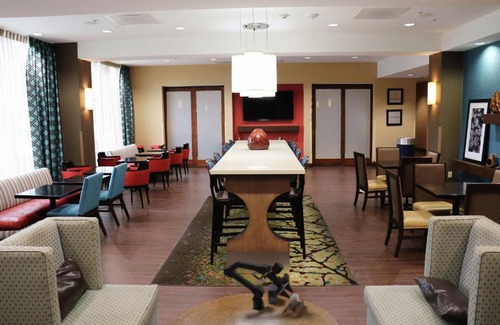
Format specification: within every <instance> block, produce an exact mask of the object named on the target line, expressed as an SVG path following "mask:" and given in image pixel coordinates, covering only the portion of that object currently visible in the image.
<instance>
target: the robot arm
mask: <svg viewBox="0 0 500 325" xmlns="http://www.w3.org/2000/svg"><path fill="white" fill-rule="evenodd" d="M237 269H243V270H249V271H254V272H256V273H258V274H259V275H263V280H266V279H268V280H269V281H270V283H272V285H275V286H276V287H277V290H276V291H275V294H276V295H278V296H281V297H285V298H286V299H290V295H289V294H288V292H290V293H291V294H295V291H294V290H293V288H292V286H291V284H290V283H291V281H290V279H291V278H290V274H288V273H287V272H284V273H283V275H282V276H281V275H280V273H281V272H282V271H283V270H284V269H285V266H284V265H283V264H282V263H280V262H278V261H275V263H274V264H273V265H268V264H266V263H251V262H246V261H242V260H236V261H235V262H234V263H232V264H230V265H227V266H225V268H224V269H223V275H224V276H225V277H228V278H230V279H233V280H235V281H237V282H238V283H239V284H240V285H242V286H243V287H245V288H246V289H248V290H249V291H250V292H251V294H252V295H253V296H252V298H251V300H252V306H253V307H252V310H256V311H257V310H259V311H260V310H262V309H263V308H264V307H265V303H264V301H265V300H264V299H263V297H264V295H265V288H264V287H263V286H261V284H259V283H257V285H256V284H254V283H252V281H249V280H248V279H247V278H246V277H244V276H242V275H241V274H240V273H239V272H238V271H237ZM278 275H279V276H278ZM287 291H288V292H287Z"/></svg>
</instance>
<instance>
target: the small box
mask: <svg viewBox="0 0 500 325" xmlns="http://www.w3.org/2000/svg"><path fill="white" fill-rule="evenodd" d="M276 290H277V287H276V286H275V285H273V284H269V285H268V286H267V301H268V305H270V304H278V301H279V294H278V295H276V294H275V291H276Z"/></svg>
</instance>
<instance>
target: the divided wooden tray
mask: <svg viewBox="0 0 500 325" xmlns="http://www.w3.org/2000/svg"><path fill="white" fill-rule="evenodd" d="M304 306H305V303H304V300H303V299H302V300H301V301H299V306H298V307H291V301H290V300H289V302H288V303H287V305H286V306H285V308H284V309H283V310H282V312H281V314H282V318H283V317H287V318H298V316H299V315H300V313H301V312H302V309H303V308H304Z"/></svg>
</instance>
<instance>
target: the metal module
mask: <svg viewBox="0 0 500 325" xmlns="http://www.w3.org/2000/svg"><path fill="white" fill-rule="evenodd" d="M289 296H290V298H289V299H290V300H289V302H290V301H291V307H298V306H299V302H300V299H299V293H291V294H290V295H289Z"/></svg>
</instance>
